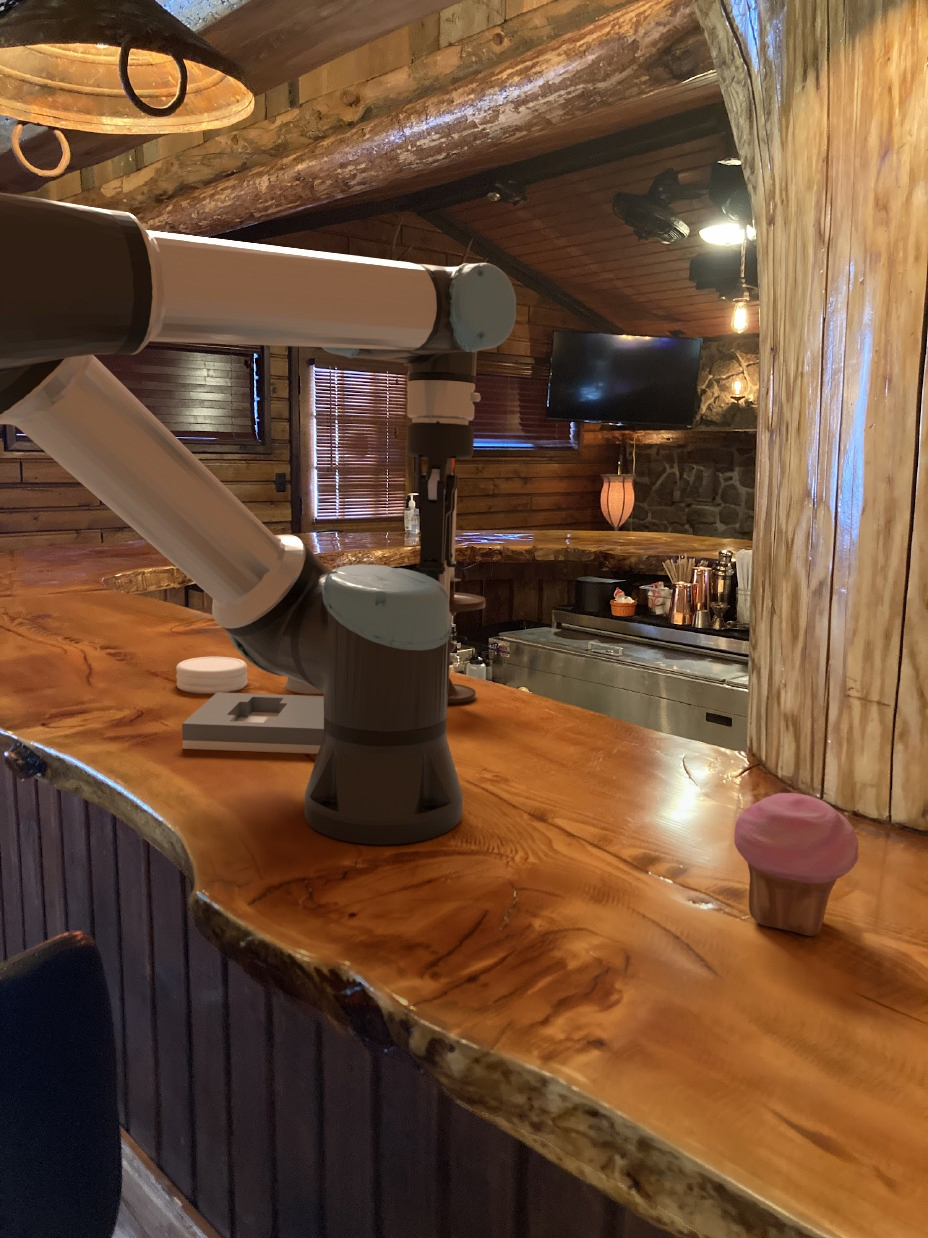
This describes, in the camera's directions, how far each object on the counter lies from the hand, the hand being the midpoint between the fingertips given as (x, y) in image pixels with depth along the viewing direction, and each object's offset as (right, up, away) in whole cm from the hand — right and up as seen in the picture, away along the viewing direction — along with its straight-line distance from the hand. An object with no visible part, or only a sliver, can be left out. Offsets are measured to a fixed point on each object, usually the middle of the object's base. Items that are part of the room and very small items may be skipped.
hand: (434, 625), depth 108 cm
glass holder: (-17, -9, +31) cm, 36 cm away
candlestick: (+1, -11, +25) cm, 27 cm away
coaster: (-33, -9, +27) cm, 44 cm away
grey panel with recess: (-16, -13, +5) cm, 21 cm away
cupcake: (+28, -23, -37) cm, 52 cm away
